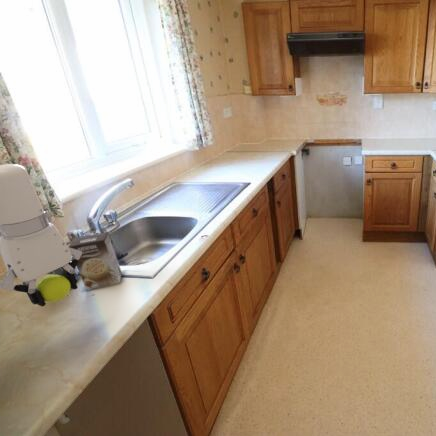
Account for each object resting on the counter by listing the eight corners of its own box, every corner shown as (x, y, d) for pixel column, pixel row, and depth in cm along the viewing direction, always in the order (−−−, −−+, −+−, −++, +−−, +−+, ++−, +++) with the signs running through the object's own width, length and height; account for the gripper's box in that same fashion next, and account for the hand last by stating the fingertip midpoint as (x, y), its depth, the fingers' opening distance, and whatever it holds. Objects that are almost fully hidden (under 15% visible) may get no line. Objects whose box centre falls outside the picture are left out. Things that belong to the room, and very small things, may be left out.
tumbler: (65, 289, 100) (54, 264, 96) (55, 285, 102) (43, 261, 98) (84, 279, 104) (73, 255, 101) (73, 275, 106) (63, 252, 103)
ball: (51, 310, 71) (40, 287, 68) (36, 303, 73) (25, 281, 70) (80, 294, 76) (71, 272, 73) (65, 288, 78) (55, 267, 75)
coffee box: (86, 293, 97) (66, 247, 91) (91, 281, 103) (72, 237, 96) (120, 285, 101) (103, 239, 94) (123, 274, 106) (107, 231, 99)
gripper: (59, 207, 75) (85, 272, 82) (-41, 240, 61) (1, 315, 68) (79, 212, 72) (104, 279, 80) (-21, 247, 58) (21, 325, 65)
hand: (56, 295), depth 74 cm, fingers closed on ball, 5 cm apart
